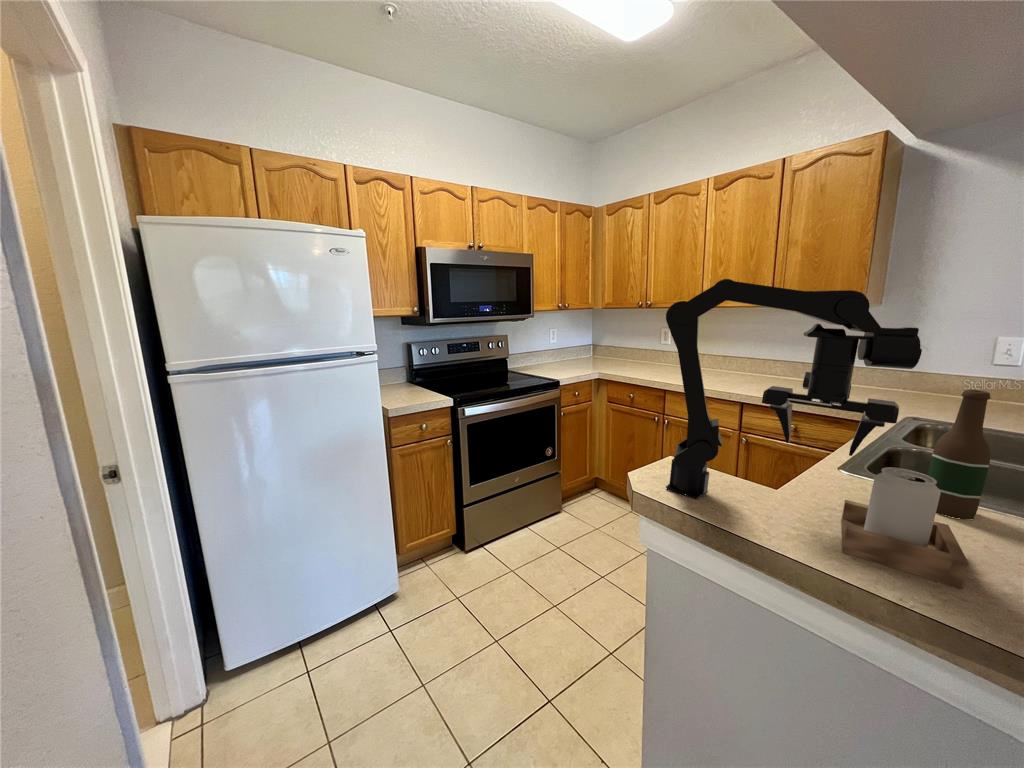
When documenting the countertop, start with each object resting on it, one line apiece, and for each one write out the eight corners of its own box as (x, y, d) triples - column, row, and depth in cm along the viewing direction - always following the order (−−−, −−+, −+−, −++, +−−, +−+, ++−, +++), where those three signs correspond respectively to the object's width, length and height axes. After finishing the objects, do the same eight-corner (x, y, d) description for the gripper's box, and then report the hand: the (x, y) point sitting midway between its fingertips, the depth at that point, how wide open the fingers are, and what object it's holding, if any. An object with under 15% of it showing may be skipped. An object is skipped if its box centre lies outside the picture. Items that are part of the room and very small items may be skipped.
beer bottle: (928, 514, 76) (958, 392, 72) (912, 497, 83) (938, 385, 79) (986, 525, 73) (1021, 397, 68) (964, 507, 80) (994, 389, 75)
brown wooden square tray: (842, 552, 63) (846, 529, 63) (841, 519, 73) (845, 499, 73) (961, 588, 55) (968, 563, 55) (942, 547, 65) (948, 524, 65)
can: (920, 563, 59) (938, 488, 57) (856, 539, 65) (870, 471, 63) (930, 547, 64) (947, 476, 61) (869, 526, 69) (883, 461, 67)
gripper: (905, 366, 69) (886, 450, 72) (779, 355, 82) (768, 428, 85) (907, 372, 61) (887, 467, 64) (767, 360, 74) (755, 440, 77)
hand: (817, 448), depth 73 cm, fingers open, 9 cm apart
